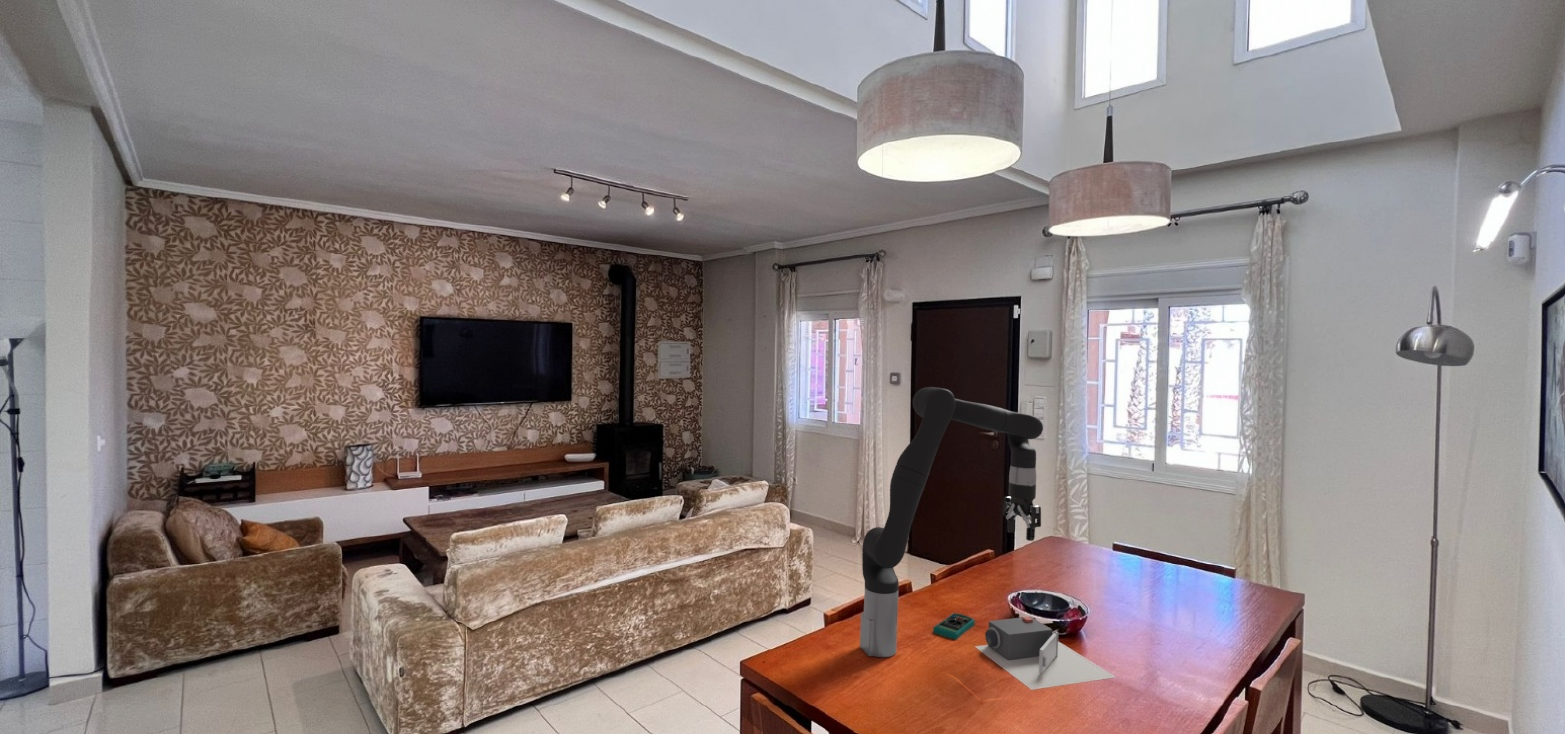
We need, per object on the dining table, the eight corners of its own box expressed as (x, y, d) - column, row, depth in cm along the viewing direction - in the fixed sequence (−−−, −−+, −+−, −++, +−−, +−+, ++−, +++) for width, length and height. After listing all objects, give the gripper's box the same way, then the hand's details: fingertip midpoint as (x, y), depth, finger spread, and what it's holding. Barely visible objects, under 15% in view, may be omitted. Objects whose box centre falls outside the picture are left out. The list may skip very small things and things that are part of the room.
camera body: (1003, 661, 171) (1004, 632, 171) (983, 646, 179) (984, 618, 179) (1051, 654, 175) (1052, 626, 175) (1029, 640, 184) (1030, 613, 184)
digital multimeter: (975, 626, 195) (976, 617, 195) (955, 643, 183) (956, 632, 183) (953, 620, 199) (953, 610, 199) (932, 635, 188) (932, 625, 188)
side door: (1053, 653, 176) (1054, 630, 175) (1059, 655, 175) (1060, 632, 175) (1037, 673, 164) (1038, 648, 164) (1044, 675, 163) (1045, 650, 163)
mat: (1031, 691, 156) (1031, 689, 156) (974, 647, 179) (974, 646, 179) (1116, 678, 164) (1116, 677, 164) (1051, 638, 187) (1051, 637, 187)
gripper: (996, 477, 194) (994, 530, 195) (1027, 487, 181) (1025, 543, 181) (1017, 476, 197) (1015, 529, 197) (1049, 486, 183) (1047, 542, 183)
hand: (1020, 536), depth 189 cm, fingers open, 8 cm apart
